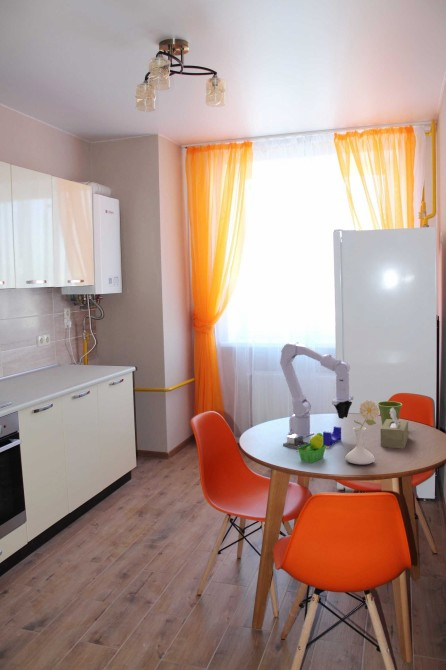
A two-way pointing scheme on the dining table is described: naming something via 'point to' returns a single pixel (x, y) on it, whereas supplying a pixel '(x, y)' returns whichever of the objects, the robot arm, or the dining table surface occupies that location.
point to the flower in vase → (359, 452)
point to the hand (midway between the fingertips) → (343, 417)
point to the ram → (295, 439)
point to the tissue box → (394, 432)
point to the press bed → (297, 446)
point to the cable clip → (332, 436)
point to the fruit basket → (313, 449)
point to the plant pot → (388, 409)
